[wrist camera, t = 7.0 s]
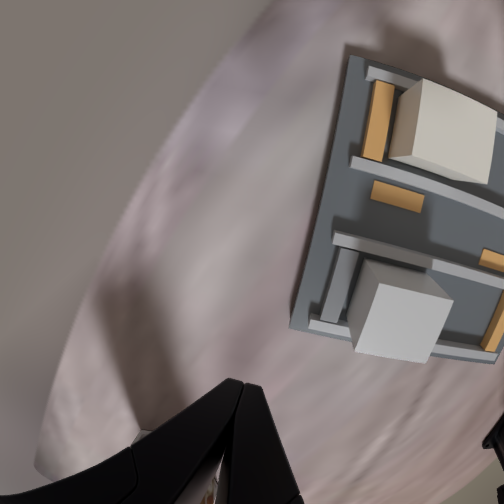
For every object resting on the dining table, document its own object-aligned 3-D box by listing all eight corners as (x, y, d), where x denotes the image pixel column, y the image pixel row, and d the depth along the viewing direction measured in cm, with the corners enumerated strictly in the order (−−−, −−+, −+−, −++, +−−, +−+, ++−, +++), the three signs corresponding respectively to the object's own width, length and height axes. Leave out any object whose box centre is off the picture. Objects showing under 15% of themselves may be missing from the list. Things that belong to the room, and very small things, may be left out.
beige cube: (451, 179, 14) (487, 184, 11) (387, 158, 15) (411, 155, 11) (461, 121, 13) (497, 111, 10) (398, 96, 14) (423, 78, 10)
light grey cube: (406, 327, 17) (425, 363, 13) (346, 314, 17) (353, 351, 14) (426, 273, 16) (453, 300, 12) (364, 257, 16) (379, 282, 13)
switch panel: (487, 356, 18) (498, 370, 16) (289, 319, 19) (287, 334, 18) (549, 150, 13) (566, 150, 11) (347, 61, 15) (351, 49, 13)
